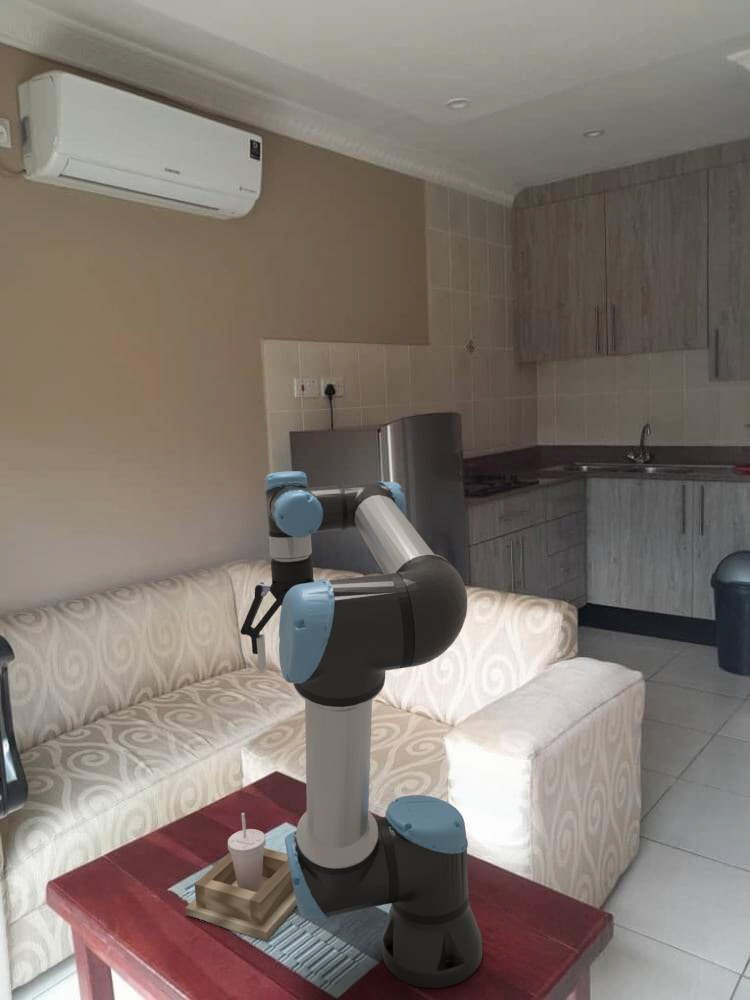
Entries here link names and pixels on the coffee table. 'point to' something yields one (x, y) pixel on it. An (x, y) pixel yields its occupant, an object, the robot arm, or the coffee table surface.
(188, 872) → the coffee table surface
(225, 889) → the wooden box
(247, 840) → the smoothie
